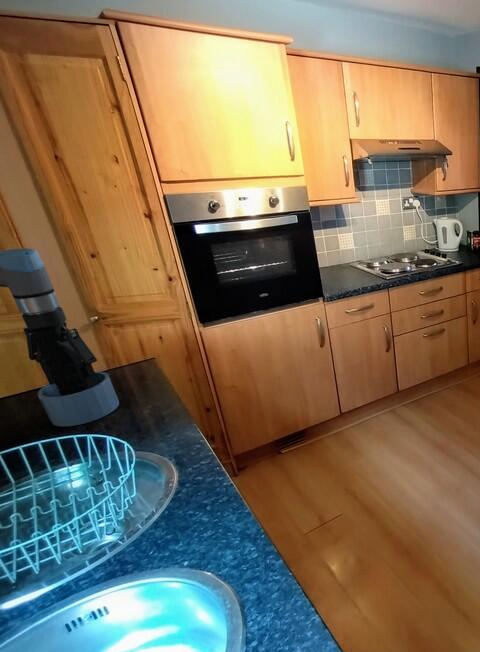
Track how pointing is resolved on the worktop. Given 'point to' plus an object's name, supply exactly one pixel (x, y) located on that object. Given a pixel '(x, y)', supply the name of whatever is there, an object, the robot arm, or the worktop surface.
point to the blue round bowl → (79, 403)
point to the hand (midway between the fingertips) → (74, 384)
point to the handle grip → (59, 362)
